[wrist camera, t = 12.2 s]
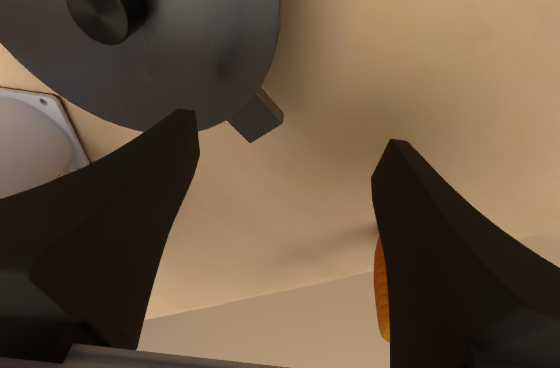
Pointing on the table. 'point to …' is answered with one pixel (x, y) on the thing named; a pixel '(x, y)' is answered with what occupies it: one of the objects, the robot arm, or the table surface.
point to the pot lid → (146, 54)
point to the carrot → (381, 292)
